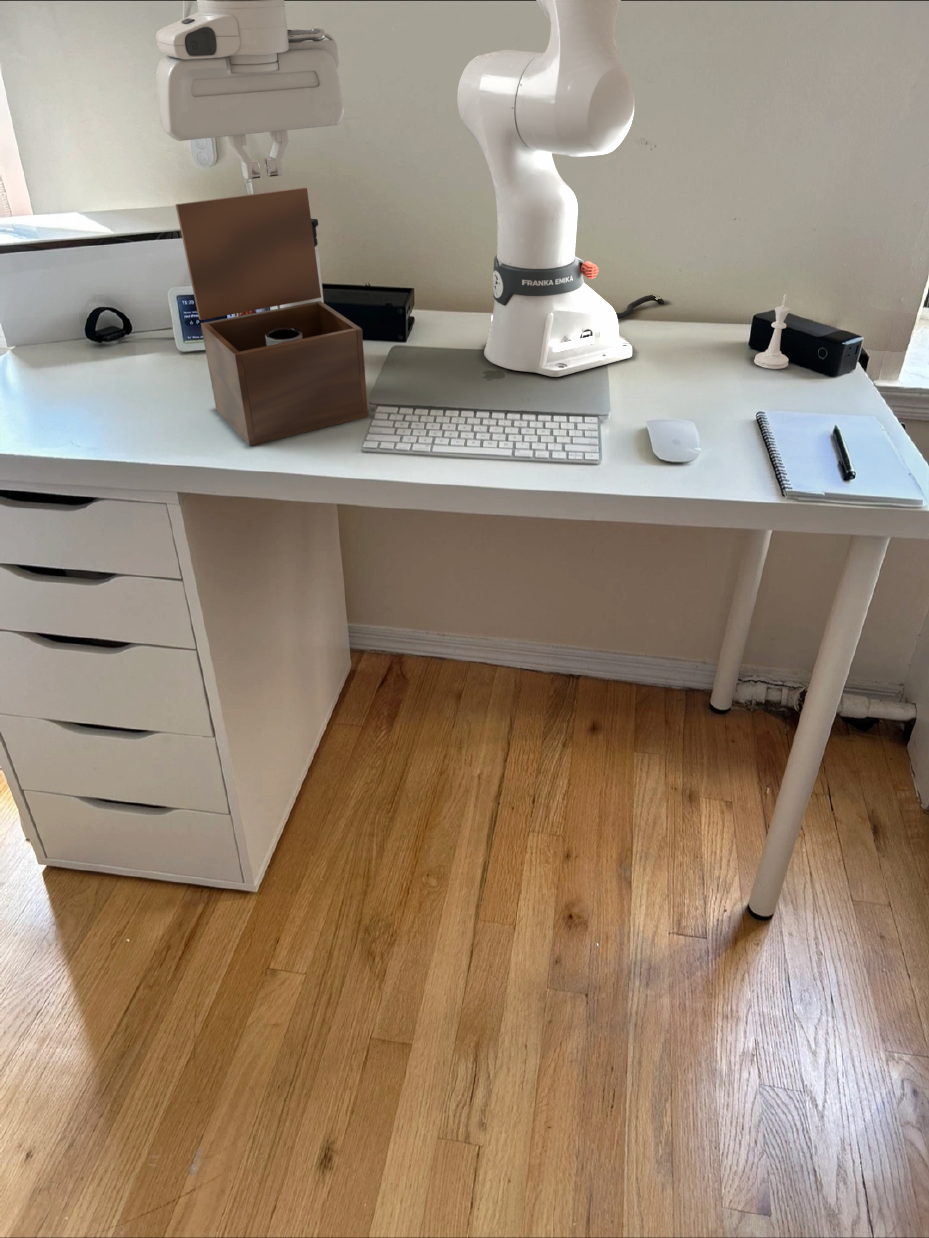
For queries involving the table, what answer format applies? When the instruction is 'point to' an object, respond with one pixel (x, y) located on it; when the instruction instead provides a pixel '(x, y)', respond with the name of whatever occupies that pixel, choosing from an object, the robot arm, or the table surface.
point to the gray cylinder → (282, 335)
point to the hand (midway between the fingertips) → (263, 177)
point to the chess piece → (775, 342)
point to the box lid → (249, 251)
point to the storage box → (286, 372)
